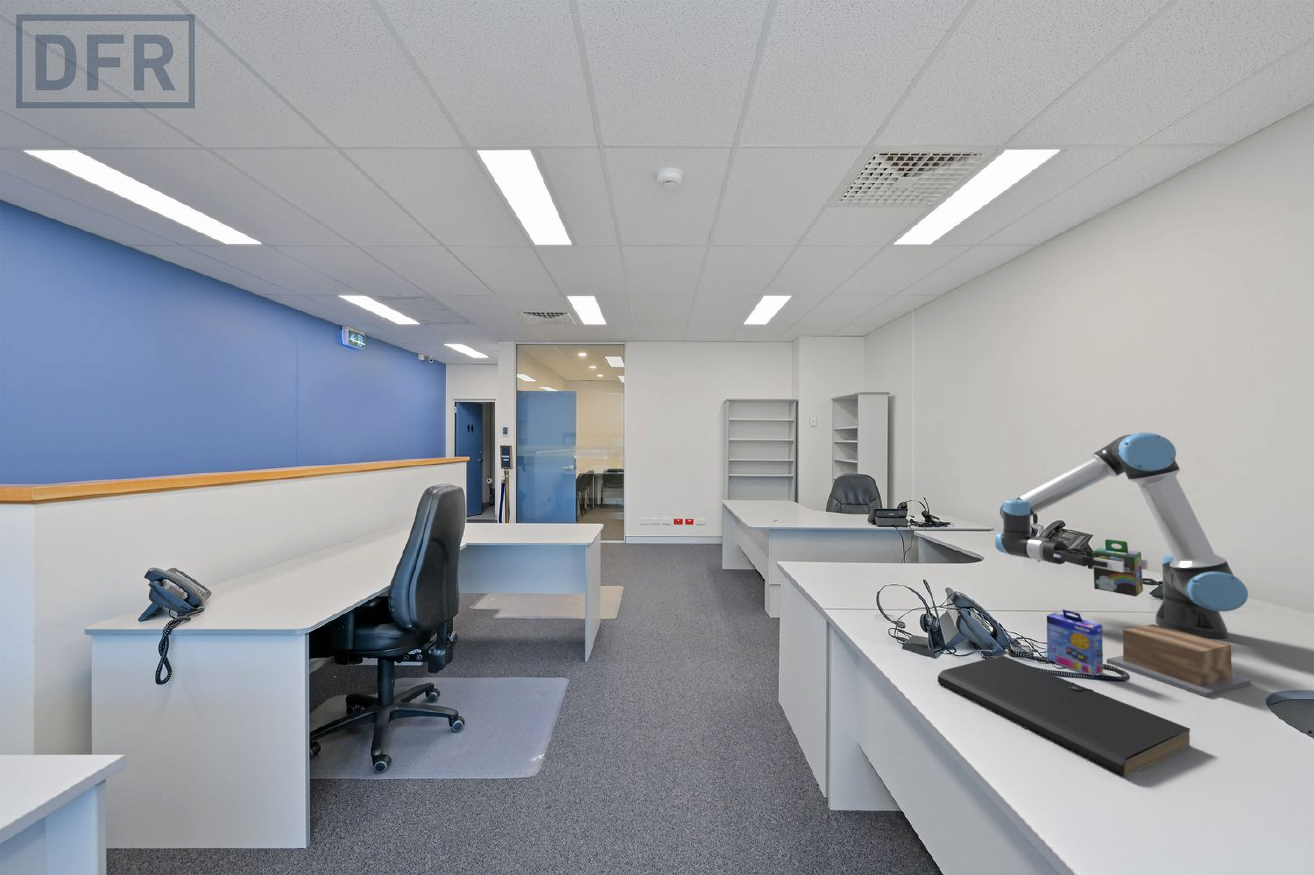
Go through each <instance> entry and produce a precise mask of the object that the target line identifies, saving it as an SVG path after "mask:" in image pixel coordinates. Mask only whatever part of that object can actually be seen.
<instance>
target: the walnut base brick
mask: <svg viewBox="0 0 1314 875" xmlns="http://www.w3.org/2000/svg"><path fill="white" fill-rule="evenodd" d="M1122 642H1123V643H1122V644H1123V645H1122V647H1123V648H1122V650H1123V651H1122V652H1123V653H1122V654H1123V655H1122V656H1123V661H1126V662H1129V663H1132V664H1135V665H1138V666H1141V667H1144V668H1147V669H1150V670H1153V671H1156V672H1159V673H1161V674H1164V675H1167V676H1170V677H1173V678H1176V679H1179V680H1182V681H1185V682H1188V683H1191V684H1194V685H1197V686H1200V687H1201V686H1205V685H1208V684H1212V683H1216V682H1219V681H1223V680H1226V679H1230V678H1232V675H1233V674H1232V673H1233V672H1232V671H1233V670H1232V668H1233V667H1232V665H1233V664H1232V644H1229V643H1226V642H1222V641H1217V640H1214V639H1210V638H1208V637H1203V636H1197V635H1192V634H1188V633H1185V632H1181V631H1177V630H1173V629H1170V628H1166V627H1163V626H1160V625H1158V624H1156V623H1155V624H1148V625H1144V626H1137V627H1132V628H1126V629H1123V630H1122Z"/></svg>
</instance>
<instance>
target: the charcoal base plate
mask: <svg viewBox="0 0 1314 875" xmlns="http://www.w3.org/2000/svg"><path fill="white" fill-rule="evenodd" d="M1106 663H1107V664H1110V665H1113V666H1116V667H1118V668H1122V669H1124V670H1127V671H1130V672H1133V673H1135V674H1138V675H1141V676H1144V677H1147V678H1150V679H1152V680H1156V681H1158V682H1162V683H1164V684H1166V685H1170V686H1173V687H1176V688H1178V689H1181V690H1184V691H1187V692H1190V693H1192V694H1195V695H1198V696H1201V697H1204V698H1209V697H1212V696H1214V695H1218V694H1222V693H1225V692H1229V691H1233V690H1235V689H1240V688H1242V687H1246V686H1250V685H1251V684H1252V683H1251V681H1252V680H1251V679H1248V678H1244V677H1242V676H1238V675H1235V674H1232V678H1230V679H1226V680H1223V681H1219V682H1216V683H1212V684H1208V685H1205V686H1201V687H1200V686H1197V685H1194V684H1191V683H1188V682H1185V681H1182V680H1179V679H1176V678H1173V677H1170V676H1167V675H1164V674H1161V673H1159V672H1156V671H1153V670H1150V669H1147V668H1144V667H1141V666H1138V665H1135V664H1132V663H1129V662H1126V661H1123V655H1118V656H1115V657H1109V658H1106Z"/></svg>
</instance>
